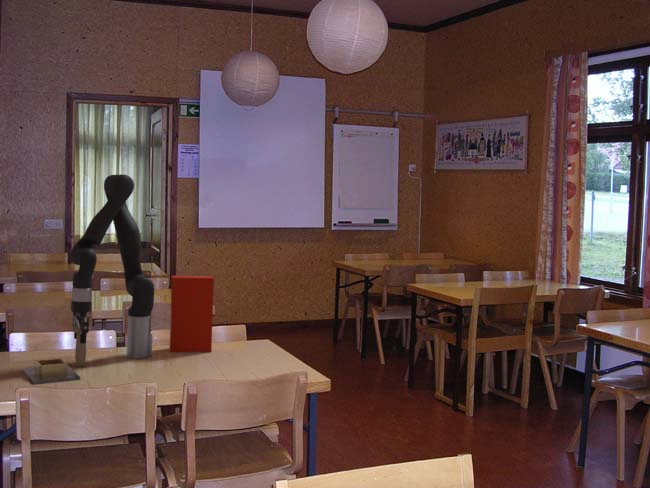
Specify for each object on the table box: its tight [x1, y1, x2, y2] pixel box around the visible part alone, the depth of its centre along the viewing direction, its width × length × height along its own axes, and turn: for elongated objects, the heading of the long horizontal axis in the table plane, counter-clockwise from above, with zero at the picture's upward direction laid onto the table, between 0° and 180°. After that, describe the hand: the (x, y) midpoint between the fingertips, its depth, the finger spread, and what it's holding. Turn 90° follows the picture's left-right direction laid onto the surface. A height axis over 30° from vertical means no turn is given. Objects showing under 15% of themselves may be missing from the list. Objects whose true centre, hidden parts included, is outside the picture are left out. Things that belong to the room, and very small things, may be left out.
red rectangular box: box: [169, 275, 215, 353], centre depth 316 cm, size 8×17×32 cm, turn 104°
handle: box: [72, 326, 91, 368], centre depth 282 cm, size 5×6×15 cm
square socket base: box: [21, 357, 81, 385], centre depth 268 cm, size 16×20×5 cm
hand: (79, 341), depth 282 cm, fingers open, 8 cm apart
